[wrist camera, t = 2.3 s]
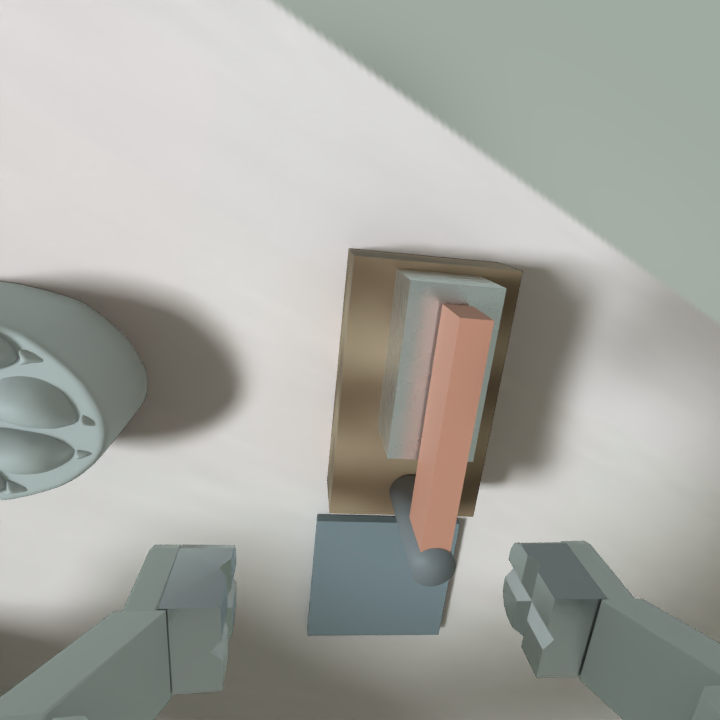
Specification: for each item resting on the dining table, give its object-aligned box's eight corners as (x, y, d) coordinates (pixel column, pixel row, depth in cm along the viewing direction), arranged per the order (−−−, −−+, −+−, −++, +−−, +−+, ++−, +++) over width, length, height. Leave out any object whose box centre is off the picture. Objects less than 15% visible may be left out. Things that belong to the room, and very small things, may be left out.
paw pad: (-64, 263, 30) (-205, 289, 21) (160, 318, 32) (110, 360, 24) (-71, 417, 32) (-198, 492, 24) (135, 457, 35) (82, 538, 27)
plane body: (456, 484, 38) (473, 516, 34) (327, 480, 37) (329, 513, 33) (497, 262, 33) (522, 271, 29) (348, 248, 32) (354, 256, 28)
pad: (436, 626, 42) (438, 634, 42) (307, 627, 41) (307, 635, 40) (456, 517, 39) (459, 524, 38) (317, 514, 38) (317, 521, 37)
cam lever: (422, 506, 33) (451, 586, 27) (387, 506, 33) (408, 586, 26) (457, 291, 29) (503, 321, 22) (417, 288, 29) (451, 317, 22)
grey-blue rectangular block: (453, 430, 32) (473, 461, 28) (377, 426, 31) (387, 458, 28) (480, 276, 29) (506, 288, 25) (396, 268, 28) (410, 280, 25)
